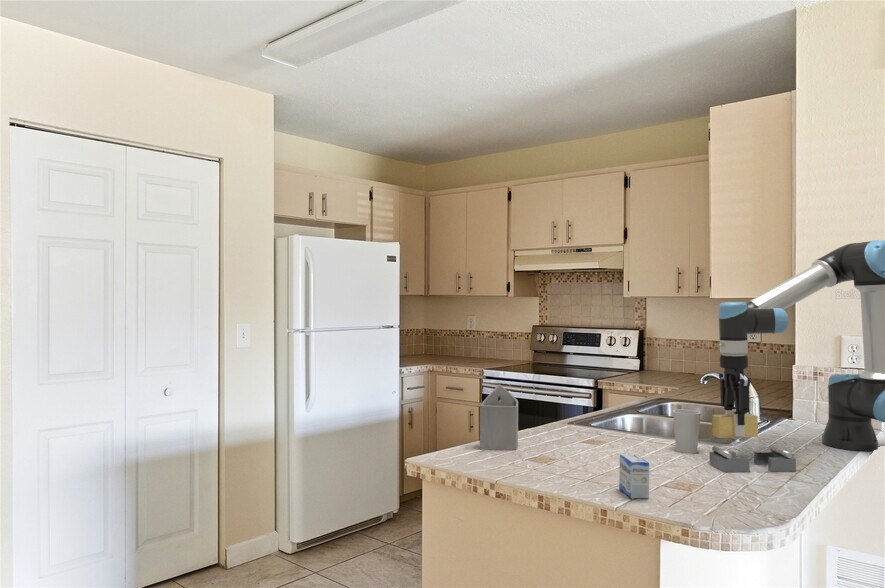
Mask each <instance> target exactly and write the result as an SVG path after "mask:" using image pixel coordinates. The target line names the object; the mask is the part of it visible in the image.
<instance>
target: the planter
mask: <svg viewBox="0 0 885 588" xmlns="http://www.w3.org/2000/svg"><path fill="white" fill-rule="evenodd" d="M518 447H519V401H518V399H517V398H516V397H515V396H514V395H513V394H512V393H511V392H509V391H508V389H506V388H505V387H504V386H502V385H501V384H498V385H497V386H496V387H495V388H494V389H493V390H492V391H491V392H490V393H489V394H488V395H487V397H486V398H485V399H484V400H483V401H482V402H481V403H480V406H479V450H482V451H484V450H485V451H486V450H487V451H517V450H518Z"/></svg>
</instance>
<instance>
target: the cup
mask: <svg viewBox="0 0 885 588" xmlns="http://www.w3.org/2000/svg"><path fill="white" fill-rule="evenodd" d="M672 416H673V426H674V427H673V429H674V441H675V442H674V443H675V451H676V452H678V453H679V452H680V453H685V454H697V453H698V451H699V450H698V447H699V435H700V423H701V422H700V421H701V412H700V411H699V410H695V409H694V410H692V409H684V408H683V409H674V410H672Z"/></svg>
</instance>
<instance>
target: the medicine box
mask: <svg viewBox="0 0 885 588" xmlns="http://www.w3.org/2000/svg"><path fill="white" fill-rule="evenodd" d="M618 475H619V476H618V477H619V478H618V479H619V481H618V484H619V485H618V486H619V487H618V488H619V490H620V491H621V490H622V491H623V492H622V491H621V492H622V493H624V494H625V495H626V496H627V495H628V496H627V497H629V499H631V498H648V499H650V463H649V462H648V461H646V460H645V459H644V458H642V457H641V456H639V455H638V454H634V453H624V454H623V453H621V454H619V473H618Z"/></svg>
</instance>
